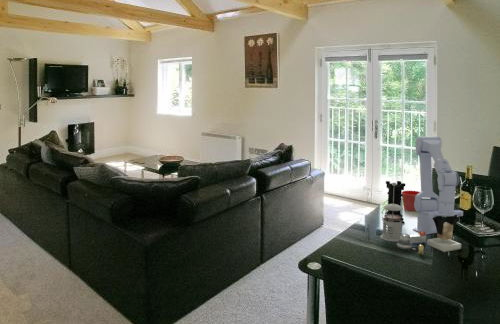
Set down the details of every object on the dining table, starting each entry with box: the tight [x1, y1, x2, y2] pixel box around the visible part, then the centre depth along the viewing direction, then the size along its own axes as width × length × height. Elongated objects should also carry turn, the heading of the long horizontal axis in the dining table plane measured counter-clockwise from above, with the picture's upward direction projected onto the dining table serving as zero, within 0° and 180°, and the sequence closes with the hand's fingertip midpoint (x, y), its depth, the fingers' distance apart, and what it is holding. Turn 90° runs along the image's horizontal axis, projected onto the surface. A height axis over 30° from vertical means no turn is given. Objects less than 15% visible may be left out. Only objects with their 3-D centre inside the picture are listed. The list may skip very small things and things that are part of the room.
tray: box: [426, 237, 462, 253], centre depth 162 cm, size 9×9×2 cm
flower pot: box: [401, 190, 423, 212], centre depth 218 cm, size 11×11×10 cm
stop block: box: [436, 221, 454, 240], centre depth 161 cm, size 4×4×6 cm
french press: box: [379, 182, 404, 242], centre depth 173 cm, size 10×12×25 cm
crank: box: [399, 231, 427, 244], centre depth 162 cm, size 11×4×4 cm, turn 100°
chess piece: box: [383, 180, 406, 225], centre depth 196 cm, size 8×8×20 cm
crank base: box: [396, 241, 424, 256], centre depth 159 cm, size 6×12×4 cm, turn 20°
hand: (444, 233), depth 161 cm, fingers closed on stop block, 4 cm apart
